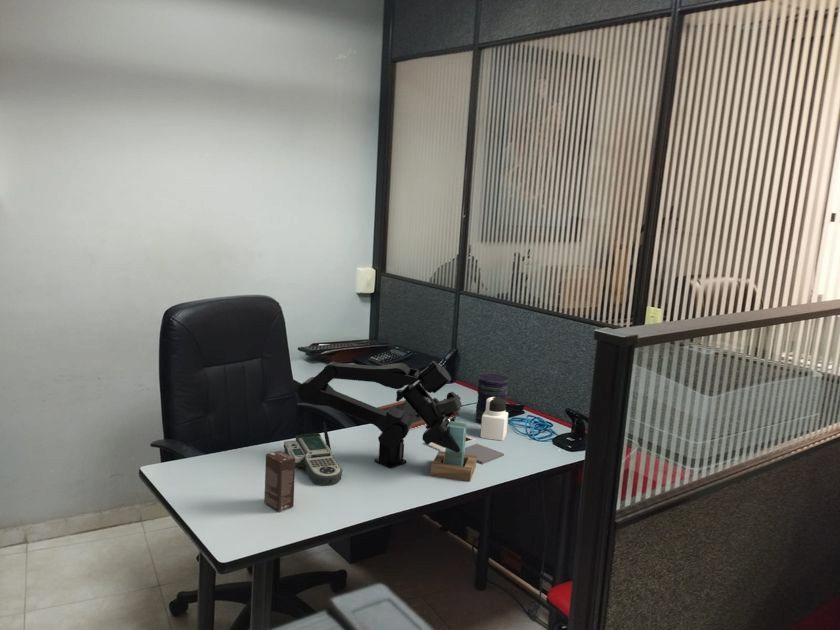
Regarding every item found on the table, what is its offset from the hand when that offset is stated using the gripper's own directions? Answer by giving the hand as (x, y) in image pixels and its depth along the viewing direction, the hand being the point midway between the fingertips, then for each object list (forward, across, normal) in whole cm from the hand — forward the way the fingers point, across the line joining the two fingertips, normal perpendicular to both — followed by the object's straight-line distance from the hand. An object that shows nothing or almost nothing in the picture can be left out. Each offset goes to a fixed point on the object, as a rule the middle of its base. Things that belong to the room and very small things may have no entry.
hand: (460, 448), depth 181 cm
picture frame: (-11, +42, +22) cm, 48 cm away
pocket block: (+4, 0, +6) cm, 7 cm away
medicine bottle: (+9, +32, +1) cm, 33 cm away
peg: (+4, 0, +6) cm, 7 cm away
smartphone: (+1, +21, +10) cm, 24 cm away
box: (-21, -34, +30) cm, 50 cm away
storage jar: (+7, +45, +3) cm, 46 cm away
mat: (+7, +14, +2) cm, 16 cm away
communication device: (-21, -11, +31) cm, 39 cm away
